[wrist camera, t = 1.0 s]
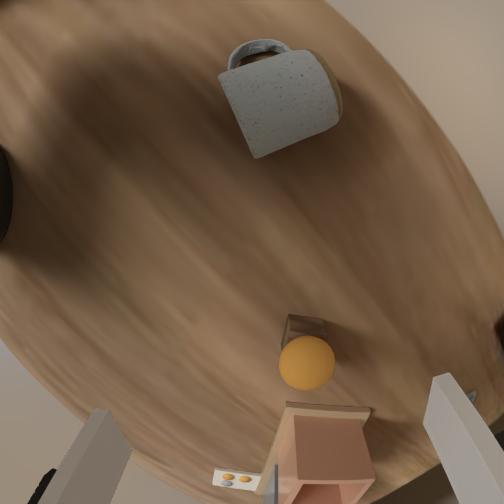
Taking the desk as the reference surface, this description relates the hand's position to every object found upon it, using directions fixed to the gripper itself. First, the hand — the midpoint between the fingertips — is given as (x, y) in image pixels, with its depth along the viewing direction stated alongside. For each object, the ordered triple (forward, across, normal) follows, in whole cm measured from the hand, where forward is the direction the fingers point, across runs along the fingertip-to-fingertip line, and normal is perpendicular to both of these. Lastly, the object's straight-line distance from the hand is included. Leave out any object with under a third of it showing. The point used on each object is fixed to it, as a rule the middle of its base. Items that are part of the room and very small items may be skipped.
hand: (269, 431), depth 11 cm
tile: (+20, -10, -34) cm, 41 cm away
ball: (+17, +2, -8) cm, 19 cm away
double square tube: (+20, +1, -30) cm, 36 cm away
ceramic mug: (+21, +3, +16) cm, 26 cm away
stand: (+20, +2, -8) cm, 22 cm away
